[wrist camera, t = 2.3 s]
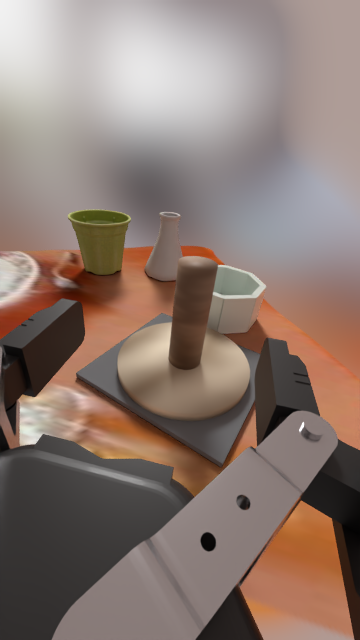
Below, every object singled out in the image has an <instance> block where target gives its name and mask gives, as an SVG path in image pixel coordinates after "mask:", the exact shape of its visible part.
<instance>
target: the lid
mask: <svg viewBox="0 0 360 640" xmlns="http://www.w3.org/2000/svg"><path fill="white" fill-rule="evenodd" d="M217 269H218V264H217V263H216V262H215V261H213V260H211V259H208V258H204V257H198V256H186V257H182V258H180V259H179V260H178V267H177V277H176V287H175V297H174V307H173V317H172V322H170V323H161V324H156V325H152V326H149V327H146V328H144V329H142V330H139V331H138V332H136V333H134V334H133V335H132V336H130V337H129V338H128V339H127V340H126V341H125V342H124V344H123V345H122V347H121V349H120V351H119V355H118V363H117V365H118V377H119V380H120V383H121V385H122V387H123V389H124V391H125V392H126V393H127V395H128V396H129V397H130V398H131V399H132V400H133V401H134V402H135V403H137V404H138V405H139V406H141V407H142V408H144V409H146V410H148V411H149V412H151V413H154V414H156V415H159V416H161V417H165V418H169V419H174V420H181V421H199V420H206V419H211V418H214V417H217V416H220V415H222V414H224V413H226V412H228V411H230V410H231V409H232V408H234V407H235V406H236V405H237V404H238V403H239V402H240V401H241V399H242V398H243V396H244V394H245V392H246V389H247V386H248V383H249V379H250V367H249V363H248V361H247V358H246V356H245V355H244V353H243V352H242V350H241V349H240V348H239V347H238V346H237V345H236V344H235V343H234V342H233V341H232V340H230V339H229V338H227V337H226V336H224V335H223V334H221V333H219V332H217V331H215V330H213V329H210V328H207V323H208V318H209V313H210V307H211V302H212V296H213V291H214V286H215V280H216V275H217Z"/></svg>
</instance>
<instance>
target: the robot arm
mask: <svg viewBox="0 0 360 640" xmlns="http://www.w3.org/2000/svg"><path fill="white" fill-rule="evenodd" d="M84 336H85V327H84V318H83V309H82V304H81V303H80V302H78V301H73V300H68V299H61V300H59V301H58V302H57V303H55V304H54V305H53V306H51V307H48V308H46V309H43V310H41V311H39V312H37V313H35V314H34V315H33V316H31V317H30V318H29V319H28V320H26V321H25V322H23V323H22V324H21V325H19V326H18V327H17V328H15V329H14V330H13V331H11V332H10V333H9V334H7V335H6V336H5V337H3V338H2V339H1V340H0V640H263V638H262V635H261V633H260V631H259V629H258V627H257V625H256V623H255V620H254V618H253V616H252V614H251V611H250V609H249V607H248V605H247V603H246V601H245V598H244V596H243V594H242V592H241V590H240V586H241V585H242V584H243V582H244V581H245V579H246V578H247V577H248V575H249V574H250V572H251V571H252V570H253V568H254V567H255V565H256V564H257V562H258V561H259V560H260V558H261V557H262V555H263V554H264V552H265V551H266V549H267V548H268V546H269V545H270V544H271V542H272V541H273V539H274V538H275V536H276V535H277V534H278V532H279V531H280V529H281V528H282V527H283V525H284V524H285V522H286V521H287V520H288V518H289V517H290V515H291V514H292V513H293V511H294V510H295V508H296V507H297V505H298V504H299V503H300V501H301V500H302V501H303V502H305V503H307V504H309V505H310V506H312V507H314V508H315V509H317V510H319V511H320V512H322V513H324V514H325V515H327V516H329V517H330V518H332V521H333V527H334V532H335V537H336V543H337V548H338V554H339V559H340V564H341V570H342V575H343V580H344V586H345V591H346V597H347V602H348V607H349V613H350V618H351V623H352V629H353V634H354V639H355V640H360V450H358V449H356V448H354V447H352V446H349V445H347V444H346V443H344V442H342V441H341V440H339V439H338V438H337V434H336V432H335V430H334V429H333V427H332V426H331V425H330V424H329V423H328V422H327V421H326V420H324V419H323V418H322V417H320V414H319V410H318V407H317V403H316V400H315V397H314V393H313V390H312V386H311V383H310V379H309V377H308V372H307V369H306V366H305V364H304V363H303V362H302V361H301V360H300V358H299V357H298V356H295V355H290V354H289V351H288V347H287V342H286V341H283V340H278V339H272V338H266V339H265V342H264V345H263V348H262V351H261V354H260V357H259V360H258V364H257V367H256V371H255V379H254V383H255V406H256V430H257V447H256V448H255V449H254V448H253V447H249V448H247V449H246V450H244V451H243V452H242V453H241V454H240V455H239V456H238V457H237V458H236V459H235V460H234V461H233V462H232V463H231V464H230V465H228V466H227V467H226V468H225V469H224V470H223V471H222V472H221V473H220V474H219V475H218V476H217V477H216V478H215V479H214V480H213V481H212V482H210V483H209V484H208V485H207V486H206V487H205V488H204V489H203V490H202V491H201V492H200V493H199V494H198V495H197V496H196V497H194V496H193V495H192V494H191V493H190V492H189V491H188V490H187V489H186V488H185V487H184V486H183V485H181V484H180V483H179V482H177V481H175V480H174V479H172V475H173V468H174V467H170V466H166V465H162V464H158V463H154V462H150V461H146V460H143V459H103V458H100V457H98V456H96V455H95V454H93V453H91V452H90V451H88V450H86V449H85V448H83V447H81V446H80V445H78V444H76V443H75V442H72V441H68V440H64V439H61V438H57V437H53V436H49V435H45V434H43V435H42V436H41V438H40V439H39V440H38V442H37V443H36V444H33V445H24V446H20V444H19V419H20V404H19V400H18V399H19V398H20V397H21V395H22V394H23V395H28V396H32V397H36V396H37V395H38V393H39V392H40V391H41V390H42V389H43V388H44V387H45V385H46V384H47V383H48V382H49V381H50V380H51V378H52V377H53V376H54V375H55V374H56V373H57V372H58V370H59V369H60V368H61V367H62V366H63V365H64V364H65V362H66V361H67V360H68V359H69V358H70V357H71V356H72V354H73V353H74V352H75V351H76V350H77V349H78V347H79V346H80V345H81V344H82V342H83V340H84Z"/></svg>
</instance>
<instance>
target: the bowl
mask: <svg viewBox="0 0 360 640" xmlns="http://www.w3.org/2000/svg"><path fill="white" fill-rule="evenodd" d="M265 290H266V285H265V284H264V283H262V282H261V281H260V280H259V279H258V278H257V277H256V276H255V275H253V274H252V273H250V272H246V271H243V270H240V269H237V268H233V267H230V266H227V265H218V269H217V275H216V280H215V286H214V291H213V296H212V302H211V307H210V313H209V318H208V323H207V328H210V329H213V330H215V331H217V332H219V333H221V334H229V333H245V332H248V330H249V329H250V328H251V326H252V325H253V324H254V322H255V321H256V320H257V317H258V314H259V310H260V307H261V304H262V300H263V297H264V293H265Z"/></svg>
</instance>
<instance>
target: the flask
mask: <svg viewBox="0 0 360 640" xmlns="http://www.w3.org/2000/svg"><path fill="white" fill-rule="evenodd" d="M159 215H160V217H161V227H160V231H159V235H158V239H157V241H156V244H155V246H154V248H153V251H152V253H151V255H150V257H149V259H148V262H147V264H146V266H145V269H144V270H145V271H146V273H147V275H148V276H150V277H153V278H155V279H158V280H160V281H173V280H176V277H177V267H178V260H179V259H180V258H182V257H183V256H182V252H181V248H180V243H179V237H178V222H179V220H180V218H181V215H179V214H177V213H173V212H162V213H160V214H159Z"/></svg>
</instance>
